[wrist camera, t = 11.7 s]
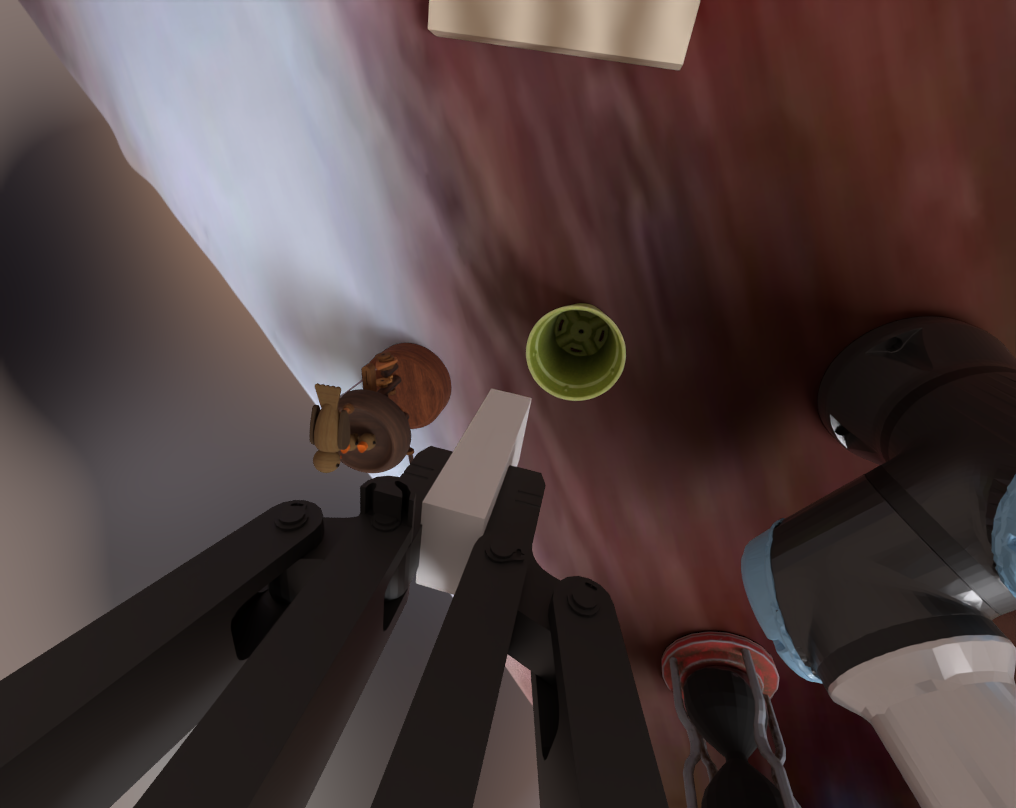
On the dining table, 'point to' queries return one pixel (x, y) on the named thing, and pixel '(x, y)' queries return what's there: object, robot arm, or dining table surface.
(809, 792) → the dining table surface
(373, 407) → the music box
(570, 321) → the plant pot
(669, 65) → the dial plate
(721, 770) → the hourglass
